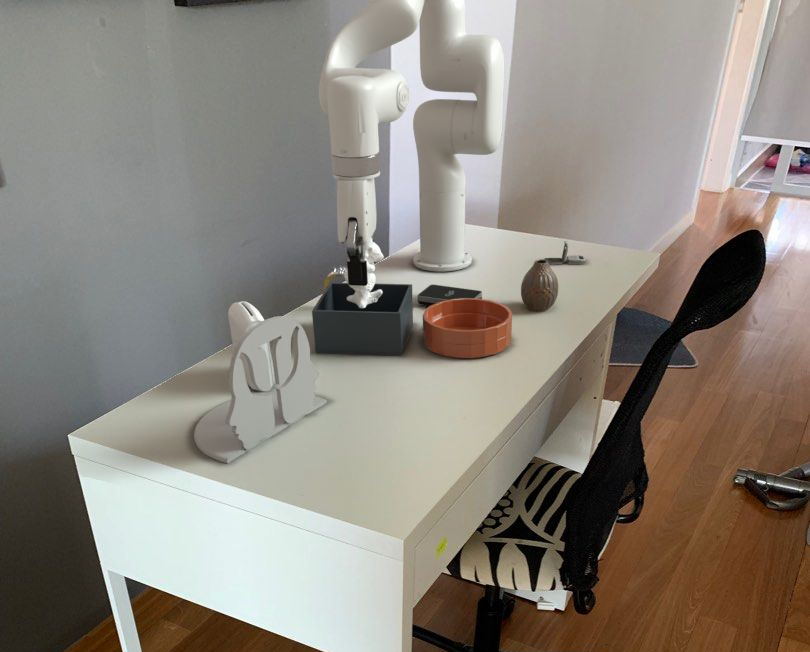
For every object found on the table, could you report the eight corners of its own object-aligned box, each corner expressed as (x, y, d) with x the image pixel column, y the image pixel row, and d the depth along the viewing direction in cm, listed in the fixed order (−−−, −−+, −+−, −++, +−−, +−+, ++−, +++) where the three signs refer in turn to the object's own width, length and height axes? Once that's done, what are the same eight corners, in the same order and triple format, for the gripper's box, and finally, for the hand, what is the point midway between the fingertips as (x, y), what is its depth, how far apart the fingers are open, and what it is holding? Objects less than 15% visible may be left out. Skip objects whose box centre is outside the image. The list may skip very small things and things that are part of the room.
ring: (363, 307, 164) (360, 266, 159) (356, 313, 161) (353, 271, 157) (330, 303, 166) (327, 262, 161) (323, 309, 164) (319, 267, 159)
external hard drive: (469, 313, 160) (469, 303, 159) (415, 305, 164) (415, 295, 163) (482, 301, 165) (483, 291, 164) (430, 294, 169) (430, 284, 168)
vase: (556, 301, 164) (559, 255, 158) (557, 314, 158) (561, 267, 153) (519, 301, 164) (522, 255, 159) (520, 314, 159) (522, 267, 154)
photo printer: (233, 370, 142) (222, 297, 135) (258, 364, 144) (248, 292, 136) (252, 394, 135) (241, 318, 127) (278, 388, 136) (269, 313, 129)
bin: (333, 322, 158) (329, 282, 154) (413, 324, 156) (412, 284, 152) (315, 353, 147) (311, 310, 143) (401, 356, 145) (400, 313, 141)
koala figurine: (370, 313, 143) (365, 240, 136) (334, 307, 145) (328, 236, 138) (391, 295, 149) (388, 225, 142) (356, 290, 151) (351, 221, 144)
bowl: (429, 323, 156) (428, 297, 153) (512, 326, 154) (513, 299, 151) (418, 358, 144) (417, 329, 141) (508, 361, 142) (509, 332, 139)
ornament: (227, 464, 117) (208, 350, 107) (162, 439, 124) (137, 328, 114) (329, 402, 132) (319, 296, 122) (265, 382, 138) (251, 280, 128)
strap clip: (584, 259, 183) (585, 239, 181) (585, 264, 181) (587, 243, 178) (544, 260, 183) (545, 240, 181) (545, 264, 181) (546, 244, 179)
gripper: (343, 153, 142) (350, 260, 153) (320, 178, 128) (329, 294, 139) (388, 153, 141) (392, 261, 152) (369, 178, 127) (375, 296, 138)
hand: (362, 276), depth 145 cm, fingers closed on koala figurine, 6 cm apart
